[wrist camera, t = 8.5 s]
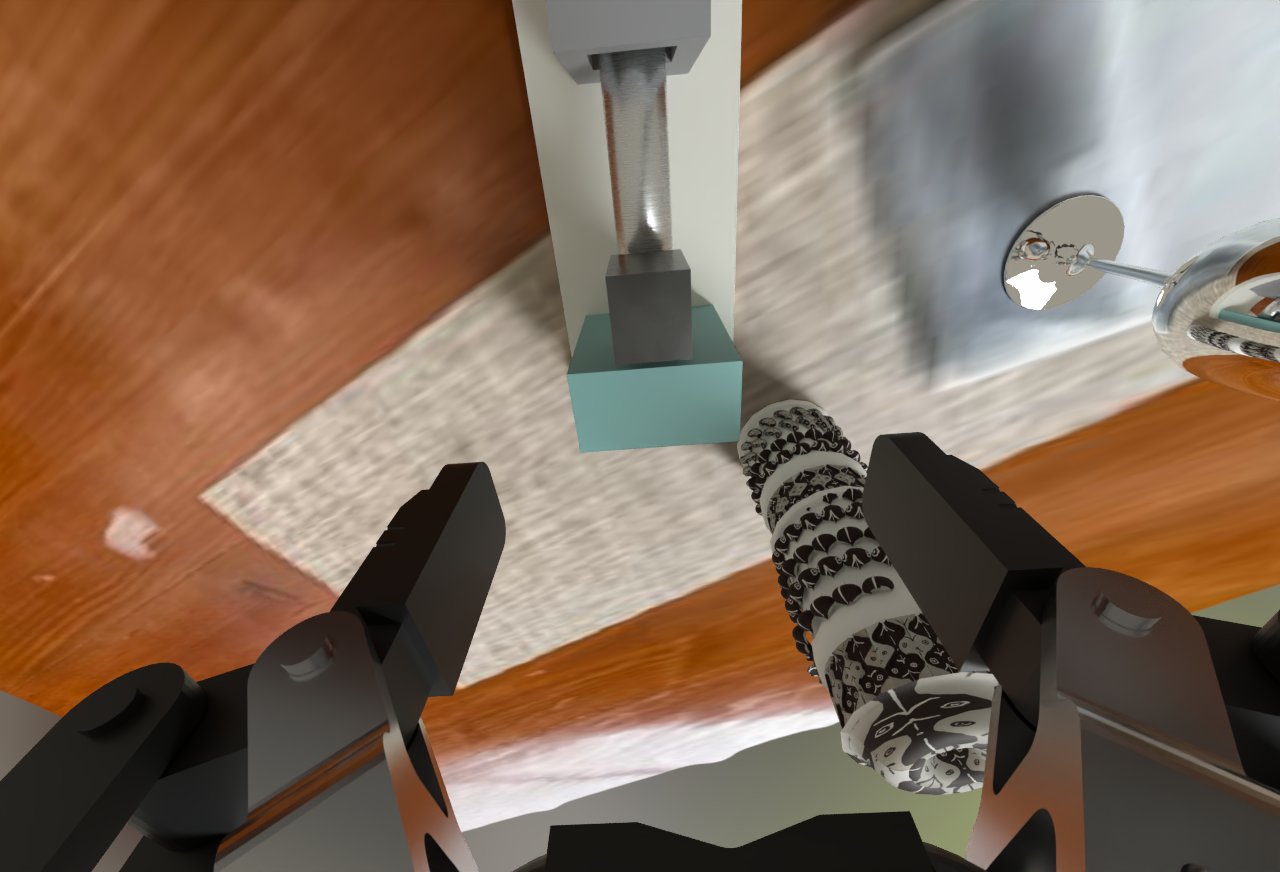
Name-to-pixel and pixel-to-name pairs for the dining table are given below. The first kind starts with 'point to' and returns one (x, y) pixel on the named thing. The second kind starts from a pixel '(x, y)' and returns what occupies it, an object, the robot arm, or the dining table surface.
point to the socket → (656, 390)
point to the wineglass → (1166, 289)
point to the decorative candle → (861, 610)
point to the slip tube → (643, 214)
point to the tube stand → (577, 148)
